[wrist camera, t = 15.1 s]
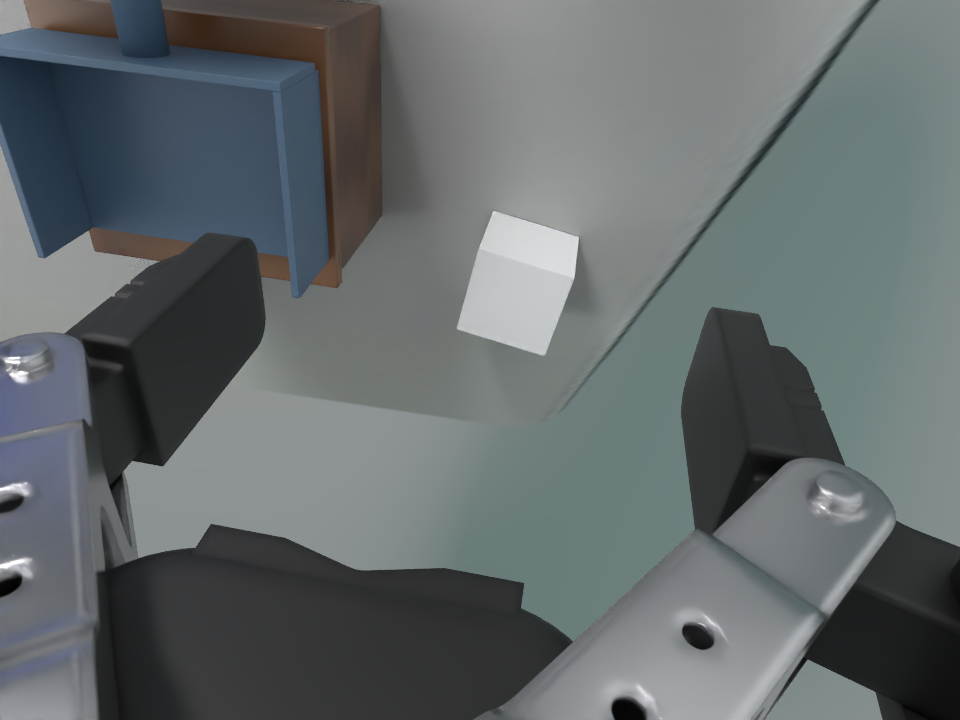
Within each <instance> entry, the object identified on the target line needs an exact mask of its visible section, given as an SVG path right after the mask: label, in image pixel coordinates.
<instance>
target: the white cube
mask: <svg viewBox="0 0 960 720" xmlns="http://www.w3.org/2000/svg"><path fill="white" fill-rule="evenodd" d="M578 241H579V237H577V236H574V235H571V234H568V233H564V232H561V231H558V230H555V229H551V228H548V227H545V226H542V225H539V224H535V223H532V222H529V221H526V220H522V219H519V218H516V217H513V216H509V215H506V214H503V213H500V212H497V211H493V213H492V216H491V219H490V221H489V224H488V226H487V229H486V231H485V234H484V237H483V239H482V242H481V244H480V247H479V250H478V253H477V257H476V260H475V264H474V268H473V271H472V275H471V278H470V282H469V286H468V289H467V293H466V296H465V300H464V304H463V307H462V311H461V314H460V318H459V322H458V325H457V329H458V330H461V331H464V332H467V333H471V334H474V335H477V336H480V337H484V338H487V339H490V340H494V341H497V342H500V343H503V344H507V345H510V346H513V347H516V348H520V349H523V350H526V351H529V352H533V353H536V354H539V355H542V356H545V353H546V351H547V348H548V346H549V343H550V341H551V338H552V335H553V333H554V330H555V328H556V325H557V322H558V320H559V317H560V315H561V312H562V309H563V307H564V304H565V302H566V299H567V296H568V294H569V291H570V289H571V286H572V283H573V281H574V277H575V268H576V259H577V250H578Z"/></svg>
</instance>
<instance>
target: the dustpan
mask: <svg viewBox="0 0 960 720" xmlns="http://www.w3.org/2000/svg"><path fill="white" fill-rule="evenodd" d="M110 2H111V6H112V11H113V16H114V20H115V25H116V30H117V34H118V39H117V38H109V37H101V36H93V35H85V34H77V33H69V32H61V31H53V30H45V29H37V28H28V29H24V30H19V31H15V32H11V33H6V34H2V35H0V144H1V147H2V150H3V153H4V156H5V159H6V162H7V165H8V168H9V171H10V174H11V177H12V180H13V183H14V186H15V189H16V192H17V195H18V198H19V201H20V204H21V207H22V210H23V213H24V216H25V219H26V222H27V225H28V228H29V231H30V234H31V237H32V240H33V243H34V246H35V248H36V251H37V254H38V257H40V258H46V257H48V256H49V255H51V254H52V253H54V252H55V251H57V250H59V249H60V248H62V247H63V246H65V245H66V244H68V243H70V242H71V241H73V240H74V239H76V238H77V237H79V236H81V235H82V234H84V233H85V232H87V231H88V230H90V229H91V228H100V229H107V230H113V231H120V232H126V233H133V234H140V235H146V236H153V237H159V238H166V239H173V240H179V241H186V242H192V243H194V242H195V241H196V240H198V239H199V238H200V237H201V236H202V235H204V234H205V233H208V232H211V233H218V234H225V235H231V236H238V237H245V238H250V239H251V240H253V242H254V243H255V245H256V248H257V252H258V253H265V254H271V255H278V256H285V257H288V258H289V268H290V278H291V289H292V297H295V298H300V297H301V295H302V294H303V293H304V292H305V290H306V289H307V288H308V286H309V285H310V284H311V283H312V281H313V280H314V279H315V278H316V276H317V275H318V274H319V272H320V271H321V270H322V269H323V267H324V266H325V265H326V264H327V262H328V261H329V245H328V228H327V211H326V193H325V176H324V158H323V141H322V124H321V106H320V89H319V71H318V70H315V63H311V62H303V61H295V60H287V59H279V58H271V57H263V56H255V55H246V54H238V53H230V52H222V51H214V50H206V49H198V48H190V47H182V46H174V45H169V43H168V37H167V31H166V26H165V20H164V14H163V9H162V3H161V0H110Z"/></svg>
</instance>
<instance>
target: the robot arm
mask: <svg viewBox="0 0 960 720" xmlns="http://www.w3.org/2000/svg"><path fill="white" fill-rule="evenodd" d="M265 319H266V316H265V307H264V299H263V291H262V283H261V275H260V268H259V260H258V253H257V248H256V245H255V243H254V242H253V240H251V239H250V238H245V237H238V236H231V235H225V234H218V233H211V232H208V233H205V234H204V235H202V236H201V237H200V238H199V239H198V240H196V241H195V242H194V243H193V244H192V245H190V246H189V247H188V248H187V249H186V250H184V251H183V252H182V253H181V254H179V255H175V256H172V257H170V258H167V259H165V260H163V261H160V262H158V263H155V264H153V265H151V266H149V267H147V268H146V269H145V270H144V271H142V272H141V273H140V274H139V275H137V276H136V277H135V278H134V279H132V280H131V283H130V284H126V285H125V286H124V287H122V288H121V289H120V290H119V291H117V292H116V293H115V297H112V296H111V297H110V298H109V299H107V300H106V301H105V302H104V303H102V304H101V305H100V306H99V307H97V308H96V309H95V310H93V311H92V312H91V313H90V314H88V315H87V316H86V317H85V318H83V319H82V320H81V321H80V322H78V323H77V324H76V325H75V326H73V327H72V328H71V329H70V330H68V331H67V332H66V333H65V334H62V333H53V332H43V333H32V334H26V335H21V336H17V337H14V338H10V339H7V340H5V341H2V342H0V720H766V719H767V718H768V716H769V715H770V714H771V712H772V711H773V710H774V708H775V707H776V705H777V704H778V703H779V701H780V700H781V698H782V697H783V696H784V694H785V693H786V691H787V690H788V689H789V687H790V686H791V684H792V683H793V682H794V680H795V679H796V677H797V676H798V674H799V673H800V672H801V670H802V669H803V667H804V666H805V665H806V663H807V662H808V660H810V661H812V662H814V663H817V664H819V665H821V666H823V667H825V668H827V669H829V670H831V671H833V672H835V673H837V674H840V675H842V676H844V677H846V678H848V679H850V680H852V681H854V682H856V683H858V684H861V685H863V686H865V687H867V688H869V689H871V690H873V691H875V692H876V695H877V699H878V703H879V707H880V711H881V715H882V719H883V720H960V547H958V546H955V545H953V544H950V543H948V542H945V541H943V540H940V539H937V538H935V537H932V536H930V535H927V534H925V533H922V532H920V531H917V530H914V529H912V528H910V527H908V526H905V525H903V524H901V523H900V522H898V521H896V515H895V510H894V508H893V505H892V504H891V502H890V500H889V499H888V497H887V496H886V495H885V493H884V492H883V491H882V490H881V489H880V488H879V487H878V486H877V485H876V484H875V483H873V482H872V481H871V480H869V479H868V478H867V477H865V476H863V475H862V474H860V473H859V472H857V471H855V470H853V469H851V468H849V467H847V466H845V463H844V461H843V459H842V456H841V453H840V451H839V449H838V446H837V443H836V441H835V438H834V436H833V433H832V431H831V428H830V426H829V423H828V421H827V418H826V416H825V413H824V411H822V410H821V407H822V406H821V403H820V401H819V398H818V396H817V393H814V390H815V388H814V385H813V383H812V381H811V378H810V375H809V373H808V371H807V368H806V367H805V366H804V365H803V364H802V363H801V362H800V361H799V360H798V359H797V358H796V357H795V356H794V355H793V354H792V353H791V352H790V351H789V350H788V349H787V348H784V347H778V346H771V345H770V344H769V341H768V338H767V335H766V332H765V330H764V326H763V324H762V320H761V318H760V316H759V315H758V314H755V313H748V312H742V311H735V310H728V309H721V308H714V307H713V308H711V309H710V311H709V312H708V314H707V317H706V320H705V323H704V325H703V329H702V332H701V335H700V338H699V341H698V344H697V347H696V351H695V354H694V357H693V360H692V363H691V367H690V370H689V373H688V376H687V379H686V382H685V387H684V392H683V397H682V406H681V417H682V425H683V434H684V442H685V451H686V459H687V467H688V475H689V484H690V492H691V500H692V508H693V516H694V525H695V531H693V532H692V533H690V534H689V535H688V536H687V537H686V538H685V539H684V540H683V541H681V542H680V543H679V544H678V545H677V546H676V547H675V548H674V549H673V550H672V551H671V552H670V553H669V554H667V555H666V556H665V557H664V558H663V559H662V560H661V561H660V562H659V563H658V564H657V565H656V566H654V567H653V568H652V569H651V570H650V571H649V572H648V573H647V574H646V575H645V576H644V577H643V578H642V579H640V581H638V582H637V583H636V584H635V585H634V586H633V587H632V588H631V589H630V590H629V591H628V592H626V593H625V594H624V595H623V596H622V597H621V598H620V599H619V600H618V601H617V602H616V603H615V604H614V605H613V606H611V607H610V608H609V609H608V610H607V611H606V612H605V613H604V614H603V615H602V616H601V617H600V618H599V619H597V620H596V621H595V622H594V623H593V624H592V625H591V626H590V627H589V628H588V629H587V630H586V631H584V632H583V633H582V634H581V635H580V636H579V637H578V638H577V639H576V640H575V641H574V642H573V641H572V640H571V639H570V638H569V637H567V636H566V635H565V634H563V633H562V632H561V631H560V630H558V629H557V628H556V627H554V626H553V625H551V624H550V623H548V622H546V621H544V620H543V619H541V618H540V617H538V616H536V615H534V614H532V613H530V612H528V611H526V610H523V609H521V603H522V595H523V588H524V583H521V582H515V581H509V580H505V579H499V578H494V577H488V576H483V575H478V574H473V573H468V572H462V571H457V570H452V569H446V568H434V569H402V570H371V571H364V570H363V571H361V570H356V569H353V568H350V567H348V566H345V565H343V564H341V563H339V562H337V561H334V560H332V559H330V558H328V557H326V556H323V555H321V554H319V553H317V552H315V551H312V550H310V549H308V548H306V547H304V546H302V545H299V544H297V543H295V542H293V541H291V540H289V539H286V538H282V537H277V536H272V535H267V534H261V533H256V532H251V531H245V530H240V529H235V528H229V527H224V526H219V525H214V524H211V525H210V526H209V528H208V529H207V531H206V532H205V534H204V536H203V537H202V539H201V540H200V542H199V543H198V545H197V546H196V548H187V549H179V550H172V551H165V552H161V553H157V554H152V555H148V556H145V557H142V558H139V559H138V552H137V545H136V538H135V531H134V524H133V518H132V511H131V504H130V497H129V490H128V484H127V481H126V477H125V474H124V470H125V469H126V467H127V466H128V465H129V464H130V463H131V461H136V462H142V463H147V464H153V465H158V466H164V465H165V463H166V462H167V461H168V460H169V458H170V457H171V456H172V455H173V453H174V452H175V451H176V450H177V448H178V447H179V446H180V445H181V443H182V442H183V441H184V439H185V438H186V437H187V436H188V434H189V433H190V432H191V430H192V429H193V428H194V427H195V426H196V424H197V423H198V421H200V419H201V418H202V417H203V415H204V414H205V413H206V412H207V410H208V409H209V408H210V407H211V405H212V404H213V403H214V402H215V400H216V399H217V398H218V397H219V395H220V394H221V393H222V391H223V390H224V389H225V388H226V386H227V385H228V384H229V383H230V381H231V380H232V379H233V378H234V376H235V375H236V374H237V373H238V371H239V370H240V369H241V368H242V366H243V365H244V364H245V362H246V361H247V360H248V359H249V357H250V356H251V355H252V354H253V352H254V351H255V350H256V349H257V347H258V346H259V344H260V342H261V340H262V337H263V333H264V329H265Z"/></svg>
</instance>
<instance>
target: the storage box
mask: <svg viewBox="0 0 960 720" xmlns="http://www.w3.org/2000/svg"><path fill="white" fill-rule="evenodd" d="M24 3H25V6H26V10H27V13H28V17H29V20H30V24H31V27H32V28H37V29H45V30H53V31H61V32H69V33H77V34H85V35H93V36H101V37H109V38H117V39H118V34H117V30H116V25H115V20H114V16H113V11H112V6H111V2H110V0H24ZM161 3H162V9H163V14H164V20H165V26H166V31H167V37H168V43H169V45H174V46H182V47H190V48H198V49H206V50H214V51H222V52H230V53H238V54H246V55H255V56H263V57H271V58H279V59H287V60H295V61H303V62H311V63H315V70H318V71H319V89H320V106H321V124H322V141H323V158H324V176H325V193H326V211H327V228H328V245H329V261H328V262H327V264H326V265H325V266H324V267H323V269H322V270H321V271H320V272H319V274H318V275H317V276H316V278H315V279H314V280H313V281H312V283H311V284H314V285H320V286H327V287H334V288H338V287H339V286H340V284H341V283H342V269H343V268H344V266H345V265H346V263H347V262H348V261H349V259H350V258H351V257H352V255H353V254H354V253H355V251H356V250H357V248H358V247H359V246H360V244H361V243H362V242H363V240H364V239H365V237H366V236H367V235H368V233H369V232H370V231H371V229H372V228H373V227H374V225H375V224H376V222H377V221H378V220H379V218H380V217H381V216H382V164H381V64H380V6H379V5H373V4H364V3H355V2H346V1H337V0H161ZM89 233H90V236H91V240H92V243H93V247H94V250H95V251H97V252H103V253H110V254H117V255H123V256H130V257H136V258H143V259H149V260H156V261H163V260H165V259H167V258H170V257H172V256H175V255H179V254H181V253H182V252H183V251H184V250H186V249H187V248H188V247H189V246H190V245H192V244H193V243H192V242H186V241H179V240H173V239H166V238H159V237H153V236H146V235H140V234H133V233H126V232H120V231H113V230H107V229H100V228H91V229H90V230H89ZM257 253H258V252H257ZM258 260H259V268H260V275H261V277H268V278H274V279H281V280H288V281H291V278H290V268H289V258H288V257H285V256H278V255H271V254H265V253H258Z"/></svg>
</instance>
